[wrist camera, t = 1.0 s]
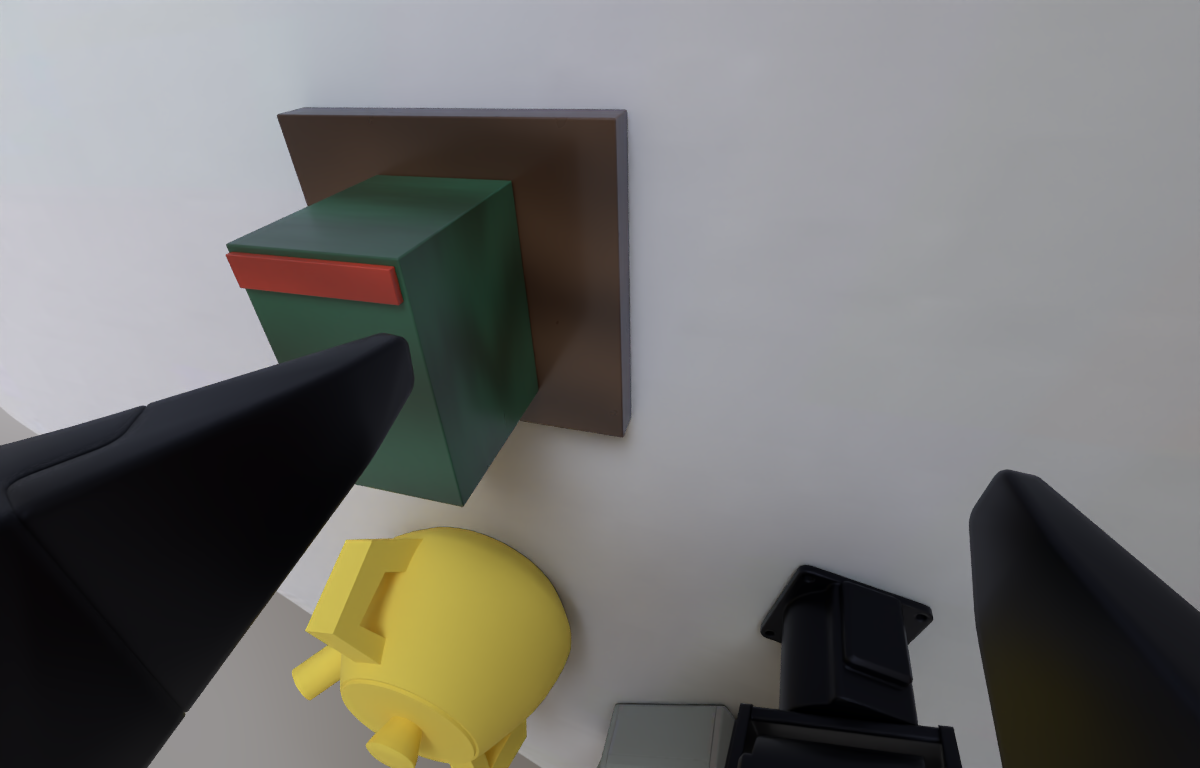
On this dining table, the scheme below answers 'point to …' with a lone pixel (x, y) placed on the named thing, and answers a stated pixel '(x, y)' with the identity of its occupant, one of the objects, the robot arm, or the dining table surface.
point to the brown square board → (544, 219)
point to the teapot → (438, 645)
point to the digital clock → (667, 736)
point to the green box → (409, 313)
